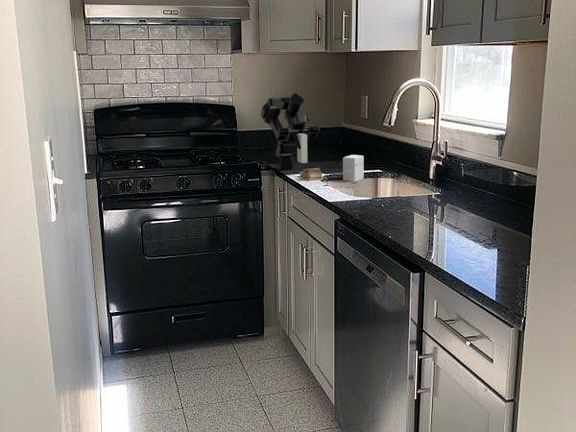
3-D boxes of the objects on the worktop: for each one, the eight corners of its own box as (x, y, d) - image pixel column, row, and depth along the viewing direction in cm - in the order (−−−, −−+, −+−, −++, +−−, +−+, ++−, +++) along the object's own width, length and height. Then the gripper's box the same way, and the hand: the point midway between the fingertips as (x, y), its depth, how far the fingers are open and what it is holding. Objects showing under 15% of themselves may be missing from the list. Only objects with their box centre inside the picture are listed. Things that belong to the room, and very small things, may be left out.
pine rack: (297, 178, 277) (297, 166, 275) (312, 176, 279) (312, 165, 278) (308, 183, 266) (308, 170, 264) (323, 181, 268) (323, 169, 267)
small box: (352, 179, 272) (352, 154, 269) (363, 180, 269) (364, 155, 266) (342, 182, 265) (342, 157, 263) (354, 183, 262) (354, 158, 260)
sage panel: (297, 161, 280) (296, 133, 277) (303, 160, 281) (302, 133, 278) (301, 163, 276) (301, 135, 273) (307, 162, 277) (306, 134, 274)
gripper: (277, 109, 273) (287, 138, 266) (318, 106, 280) (328, 135, 272) (271, 126, 282) (281, 154, 275) (311, 123, 289) (321, 151, 281)
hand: (303, 148), depth 276 cm, fingers closed on sage panel, 3 cm apart
